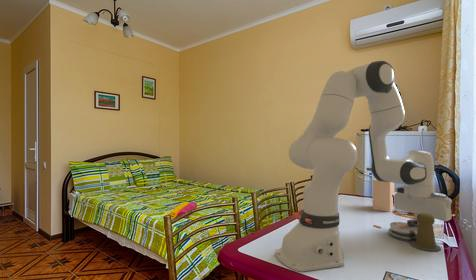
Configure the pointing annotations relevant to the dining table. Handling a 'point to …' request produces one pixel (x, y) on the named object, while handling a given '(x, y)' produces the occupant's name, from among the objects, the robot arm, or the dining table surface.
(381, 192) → the soap dispenser
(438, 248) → the coaster
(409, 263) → the dining table surface
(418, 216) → the cork
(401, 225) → the saucepan
